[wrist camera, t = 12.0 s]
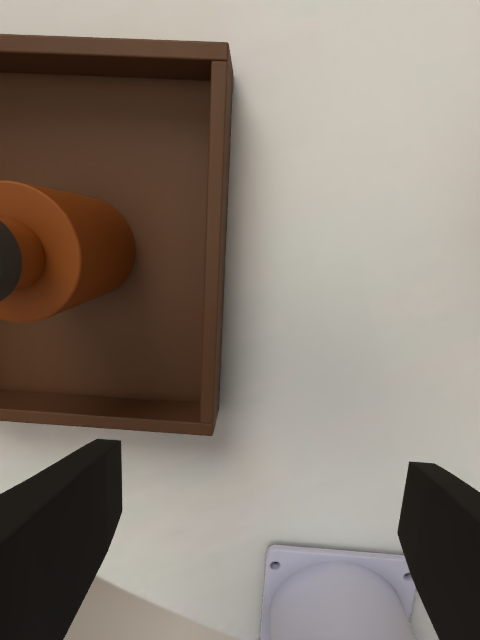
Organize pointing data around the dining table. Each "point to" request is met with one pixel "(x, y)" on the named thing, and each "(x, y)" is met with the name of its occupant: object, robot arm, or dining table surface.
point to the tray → (142, 217)
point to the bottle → (58, 251)
